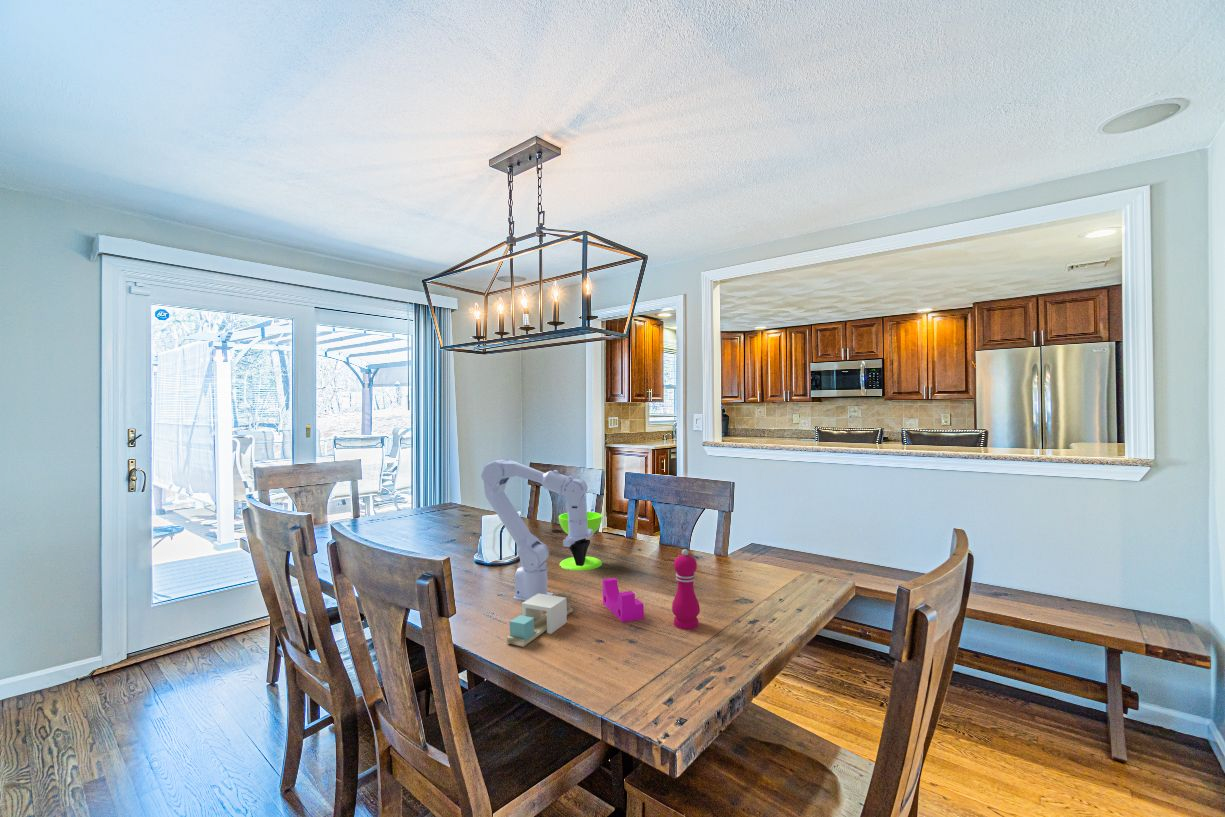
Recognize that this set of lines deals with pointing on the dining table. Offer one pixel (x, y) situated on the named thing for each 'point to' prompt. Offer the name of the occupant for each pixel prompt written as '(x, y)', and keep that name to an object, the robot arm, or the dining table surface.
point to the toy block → (621, 601)
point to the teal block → (522, 627)
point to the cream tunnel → (548, 603)
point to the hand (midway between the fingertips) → (580, 565)
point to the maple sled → (540, 624)
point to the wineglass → (594, 524)
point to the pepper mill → (685, 593)
